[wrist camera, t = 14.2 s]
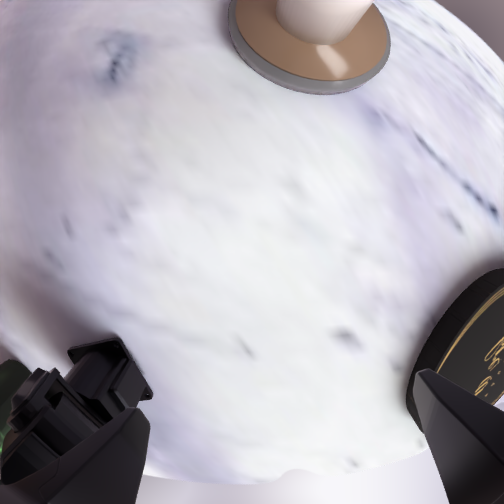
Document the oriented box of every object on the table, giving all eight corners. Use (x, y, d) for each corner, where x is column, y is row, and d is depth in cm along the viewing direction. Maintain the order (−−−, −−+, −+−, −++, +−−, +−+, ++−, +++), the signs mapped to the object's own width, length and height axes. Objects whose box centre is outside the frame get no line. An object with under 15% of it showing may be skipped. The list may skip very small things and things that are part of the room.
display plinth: (259, 112, 17) (260, 104, 15) (211, -8, 14) (208, -22, 12) (404, 85, 16) (416, 78, 14) (345, -24, 14) (351, -36, 12)
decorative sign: (493, 431, 24) (370, 472, 22) (484, 420, 27) (362, 453, 26) (572, 254, 17) (483, 212, 16) (556, 248, 20) (458, 207, 19)
